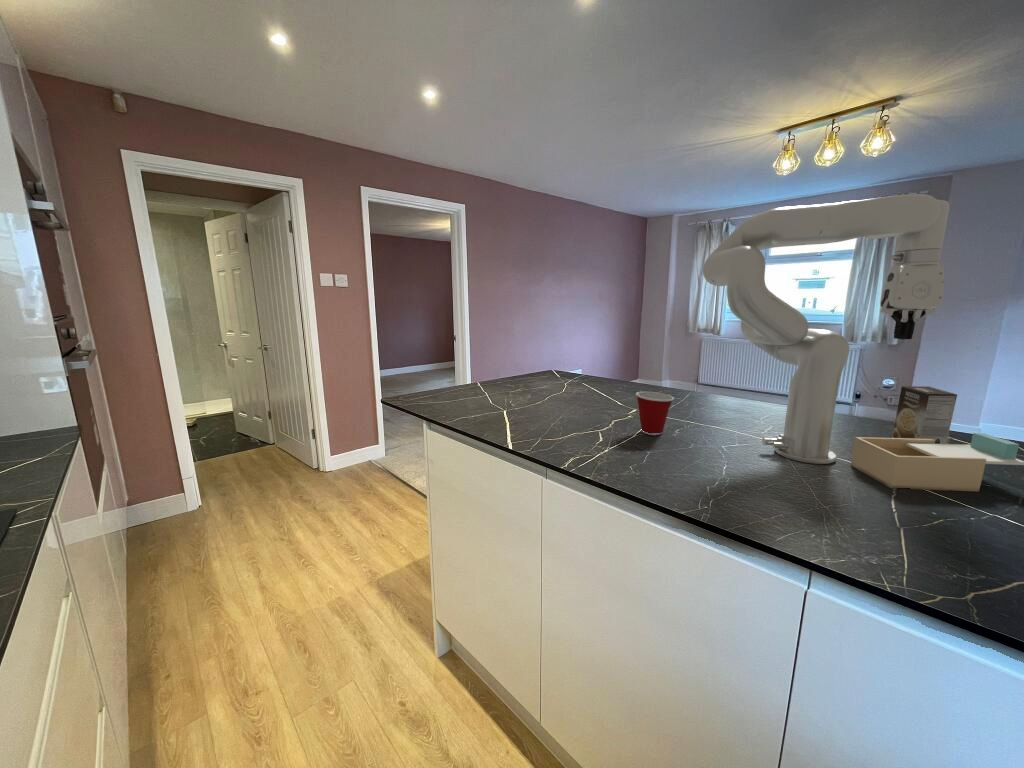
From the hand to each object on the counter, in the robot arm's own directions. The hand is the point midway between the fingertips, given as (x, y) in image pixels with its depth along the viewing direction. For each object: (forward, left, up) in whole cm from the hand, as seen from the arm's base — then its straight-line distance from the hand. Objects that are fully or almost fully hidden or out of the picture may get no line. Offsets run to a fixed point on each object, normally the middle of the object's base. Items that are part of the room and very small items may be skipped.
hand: (902, 338), depth 96 cm
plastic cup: (-54, +12, -29) cm, 63 cm away
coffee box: (+10, +3, -29) cm, 31 cm away
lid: (+4, -15, -23) cm, 28 cm away
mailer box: (-5, -15, -29) cm, 33 cm away
